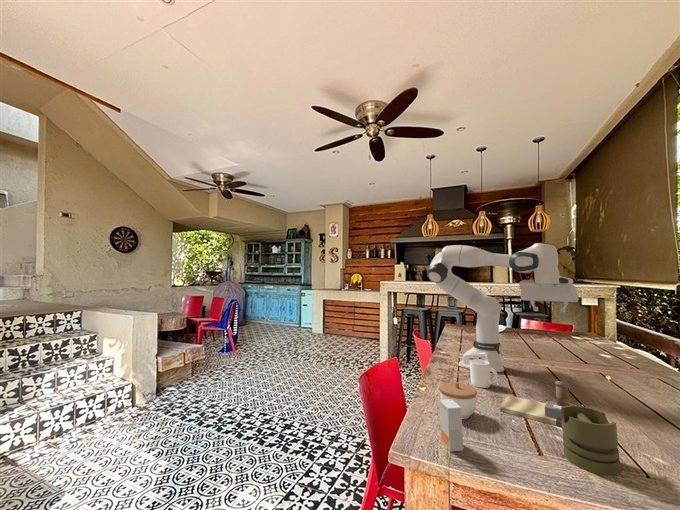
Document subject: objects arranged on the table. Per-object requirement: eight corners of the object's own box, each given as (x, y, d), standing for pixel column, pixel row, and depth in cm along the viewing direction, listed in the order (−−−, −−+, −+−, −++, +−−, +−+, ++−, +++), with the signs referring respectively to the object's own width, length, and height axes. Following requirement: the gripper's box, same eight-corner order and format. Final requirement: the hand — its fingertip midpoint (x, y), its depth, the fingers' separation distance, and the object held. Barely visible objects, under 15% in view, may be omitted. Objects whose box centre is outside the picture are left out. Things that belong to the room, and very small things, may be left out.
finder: (545, 415, 98) (544, 405, 99) (546, 411, 101) (546, 402, 102) (567, 421, 94) (566, 411, 95) (568, 417, 97) (567, 406, 98)
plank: (500, 411, 105) (500, 406, 105) (508, 398, 116) (508, 395, 116) (586, 433, 90) (585, 428, 90) (586, 416, 100) (585, 412, 100)
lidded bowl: (461, 426, 95) (459, 392, 96) (432, 411, 106) (431, 380, 107) (485, 417, 101) (484, 385, 102) (456, 404, 112) (455, 374, 113)
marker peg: (556, 410, 102) (554, 383, 103) (557, 407, 105) (555, 380, 105) (569, 413, 99) (567, 385, 100) (570, 410, 102) (568, 382, 103)
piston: (603, 408, 80) (625, 428, 70) (606, 453, 80) (630, 480, 69) (554, 403, 85) (569, 421, 74) (557, 445, 84) (573, 470, 73)
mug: (502, 387, 128) (501, 364, 128) (494, 392, 123) (492, 367, 123) (476, 380, 137) (475, 358, 138) (467, 384, 132) (466, 361, 133)
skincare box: (440, 440, 87) (438, 399, 88) (453, 439, 88) (452, 398, 89) (449, 452, 81) (447, 408, 82) (464, 451, 82) (462, 407, 82)
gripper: (517, 279, 129) (519, 310, 128) (576, 279, 115) (579, 314, 114) (520, 279, 133) (522, 309, 132) (577, 279, 120) (579, 312, 119)
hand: (549, 311), depth 123 cm, fingers open, 8 cm apart
